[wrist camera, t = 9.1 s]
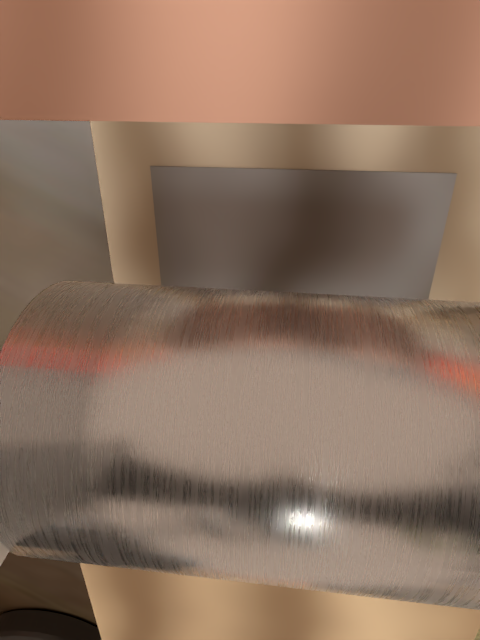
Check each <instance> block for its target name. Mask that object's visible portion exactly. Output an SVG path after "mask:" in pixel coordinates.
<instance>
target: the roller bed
mask: <svg viewBox="0 0 480 640" xmlns="http://www.w3.org/2000/svg"><path fill="white" fill-rule="evenodd" d="M0 120H61V121H90V125H91V132H92V139H93V145H94V152H95V159H96V166H97V172H98V179H99V186H100V192H101V199H102V206H103V213H104V219H105V226H106V233H107V239H108V246H109V253H110V260H111V266H112V273H113V280H114V283H120V284H139V285H159V286H178V287H197V288H216V289H236V290H255V291H274V292H294V293H313V294H332V295H351V296H371V297H390V298H409V299H428V300H448V301H467V302H480V0H0Z"/></svg>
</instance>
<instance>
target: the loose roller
mask: <svg viewBox="0 0 480 640" xmlns="http://www.w3.org/2000/svg"><path fill="white" fill-rule="evenodd" d="M0 541H1V543H2V544H3V545H4V546H5V547H6V548H7V549H8V550H10V551H9V552H11V553H13V554H15V555H18V556H26V557H34V558H43V559H51V560H60V561H68V562H76V563H85V564H93V565H102V566H110V567H119V568H127V569H136V570H144V571H153V572H161V573H170V574H178V575H187V576H195V577H204V578H212V579H221V580H229V581H238V582H246V583H255V584H263V585H272V586H280V587H288V588H297V589H305V590H314V591H322V592H331V593H339V594H348V595H356V596H365V597H373V598H382V599H390V600H399V601H407V602H416V603H424V604H433V605H441V606H450V607H458V608H467V609H475V610H480V302H467V301H448V300H428V299H409V298H390V297H371V296H351V295H332V294H313V293H294V292H274V291H255V290H236V289H216V288H197V287H178V286H159V285H139V284H120V283H101V282H82V281H63V282H59V283H56V284H53V285H51V286H49V287H48V288H46V289H45V290H43V291H42V292H41V293H39V294H38V295H37V296H36V297H35V298H34V299H33V300H32V301H31V302H30V303H29V304H28V306H27V307H26V308H25V309H24V310H23V312H22V313H21V315H20V316H19V318H18V319H17V321H16V322H15V324H14V326H13V327H12V329H11V331H10V333H9V335H8V337H7V339H6V341H5V343H4V345H3V347H2V350H1V352H0Z"/></svg>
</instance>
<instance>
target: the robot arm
mask: <svg viewBox="0 0 480 640" xmlns="http://www.w3.org/2000/svg"><path fill="white" fill-rule="evenodd" d="M9 551H10V550H8V549H7V548H6V547H5V546H4V545H3V544H2V543H1V541H0V566H1V564H2V563H3V561H4V559H5V558H6V556H7V554H8V553H9ZM0 640H102V639H101V636H100V632H99V629H98V628H97V627H95V626H93V625H90V624H88V623H86V622H84V621H81V620H78V619H76V618H73V617H69V616H66V615H62V614H58V613H53V612H47V611H40V610H17V611H11V612H7V613H3V614H1V615H0Z"/></svg>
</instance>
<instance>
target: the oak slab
mask: <svg viewBox="0 0 480 640" xmlns="http://www.w3.org/2000/svg"><path fill="white" fill-rule="evenodd" d="M80 566H81V569H82V573H83V576H84V580H85V583H86V587H87V590H88V594H89V597H90V601H91V604H92V608H93V611H94V615H95V618H96V622H97V625H98V629H99V632H100V636H101V639H102V640H474V639H475V637H476V635H477V633H478V631H479V628H480V610H475V609H467V608H458V607H450V606H441V605H433V604H424V603H416V602H407V601H399V600H390V599H382V598H373V597H365V596H356V595H348V594H339V593H331V592H322V591H314V590H305V589H297V588H288V587H280V586H272V585H263V584H255V583H246V582H238V581H229V580H221V579H212V578H204V577H195V576H187V575H178V574H170V573H161V572H153V571H144V570H136V569H127V568H119V567H110V566H102V565H93V564H85V563H80Z"/></svg>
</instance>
